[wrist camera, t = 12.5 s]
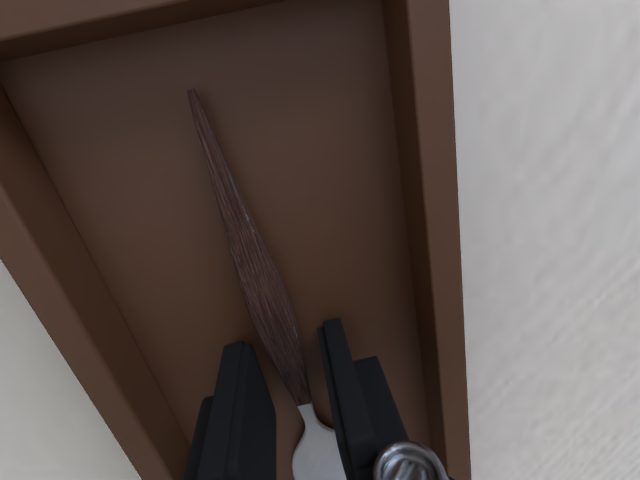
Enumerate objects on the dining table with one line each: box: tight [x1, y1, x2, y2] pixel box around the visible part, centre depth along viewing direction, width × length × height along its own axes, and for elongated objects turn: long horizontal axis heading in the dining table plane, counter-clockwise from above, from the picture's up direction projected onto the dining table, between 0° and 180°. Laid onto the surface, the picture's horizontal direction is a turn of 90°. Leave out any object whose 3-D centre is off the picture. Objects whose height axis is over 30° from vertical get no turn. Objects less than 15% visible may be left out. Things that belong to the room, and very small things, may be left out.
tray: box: [0, 0, 471, 480], centre depth 10 cm, size 10×20×2 cm, turn 12°
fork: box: [187, 89, 346, 480], centre depth 10 cm, size 3×16×2 cm, turn 14°
